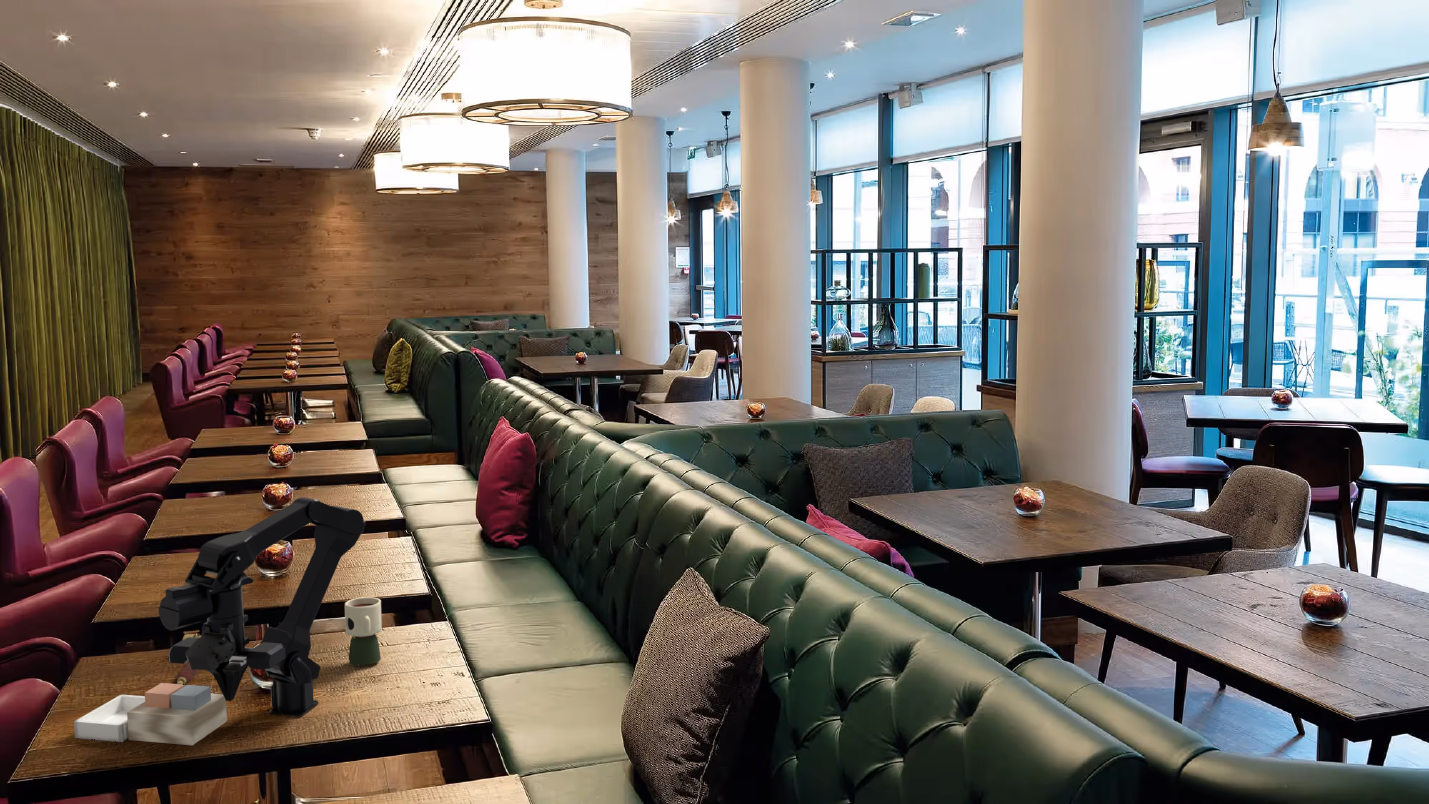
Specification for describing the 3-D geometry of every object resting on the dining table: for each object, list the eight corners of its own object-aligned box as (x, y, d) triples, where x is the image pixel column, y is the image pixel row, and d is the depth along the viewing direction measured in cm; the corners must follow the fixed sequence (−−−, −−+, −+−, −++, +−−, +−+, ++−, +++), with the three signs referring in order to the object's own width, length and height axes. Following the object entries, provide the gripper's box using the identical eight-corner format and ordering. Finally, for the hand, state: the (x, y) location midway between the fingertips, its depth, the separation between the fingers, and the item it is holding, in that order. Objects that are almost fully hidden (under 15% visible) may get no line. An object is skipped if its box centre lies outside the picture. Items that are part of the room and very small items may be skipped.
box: (166, 713, 201) (166, 698, 201) (122, 742, 190) (121, 725, 189) (122, 710, 203) (121, 694, 202) (75, 738, 191) (73, 721, 191)
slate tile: (211, 700, 195) (210, 686, 195) (195, 710, 191) (194, 696, 190) (187, 698, 196) (187, 684, 196) (171, 708, 191) (170, 694, 191)
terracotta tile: (185, 698, 196) (184, 684, 196) (169, 708, 192) (168, 694, 191) (162, 696, 197) (161, 682, 196) (145, 706, 192) (144, 692, 192)
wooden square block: (226, 721, 198) (225, 694, 198) (192, 745, 189) (190, 717, 188) (165, 716, 200) (164, 689, 200) (128, 739, 190) (127, 712, 190)
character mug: (342, 657, 230) (340, 596, 229) (377, 652, 234) (376, 592, 232) (350, 675, 221) (348, 612, 219) (387, 669, 224) (385, 607, 222)
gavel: (205, 672, 214) (150, 674, 212) (206, 694, 214) (152, 696, 213) (237, 629, 234) (187, 630, 233) (238, 649, 235) (189, 651, 234)
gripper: (145, 625, 184) (150, 715, 186) (248, 632, 181) (253, 723, 183) (186, 605, 194) (191, 689, 197) (285, 611, 192) (289, 697, 194)
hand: (229, 700), depth 192 cm, fingers closed
